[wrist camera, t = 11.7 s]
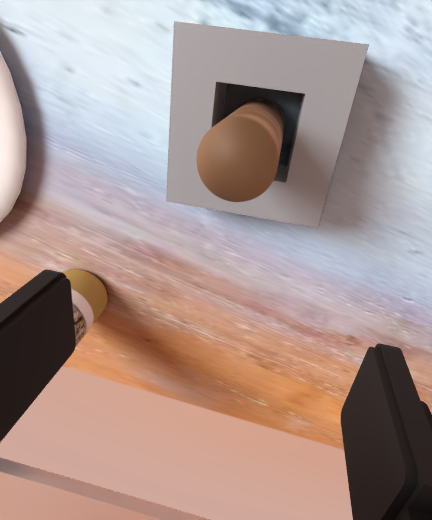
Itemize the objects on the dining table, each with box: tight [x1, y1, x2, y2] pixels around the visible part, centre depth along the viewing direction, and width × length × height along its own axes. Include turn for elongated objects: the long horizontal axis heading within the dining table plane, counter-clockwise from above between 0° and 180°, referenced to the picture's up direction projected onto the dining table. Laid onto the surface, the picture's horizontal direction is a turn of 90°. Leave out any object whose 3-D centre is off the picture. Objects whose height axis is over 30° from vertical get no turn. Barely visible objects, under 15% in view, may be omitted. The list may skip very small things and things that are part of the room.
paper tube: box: [0, 269, 108, 442], centre depth 33 cm, size 7×7×25 cm
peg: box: [196, 98, 285, 202], centre depth 25 cm, size 4×4×14 cm
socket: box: [166, 22, 369, 228], centre depth 29 cm, size 13×13×5 cm
